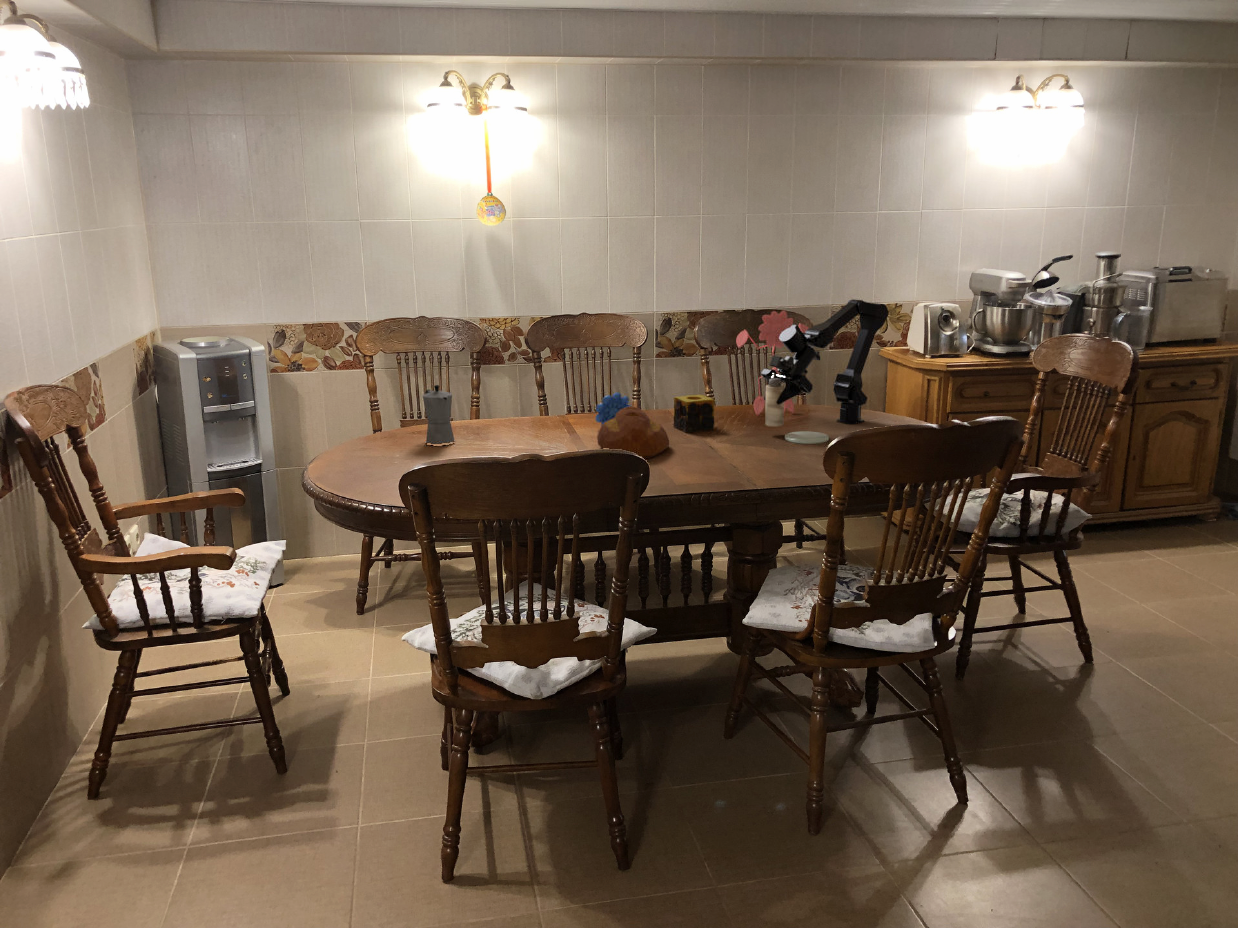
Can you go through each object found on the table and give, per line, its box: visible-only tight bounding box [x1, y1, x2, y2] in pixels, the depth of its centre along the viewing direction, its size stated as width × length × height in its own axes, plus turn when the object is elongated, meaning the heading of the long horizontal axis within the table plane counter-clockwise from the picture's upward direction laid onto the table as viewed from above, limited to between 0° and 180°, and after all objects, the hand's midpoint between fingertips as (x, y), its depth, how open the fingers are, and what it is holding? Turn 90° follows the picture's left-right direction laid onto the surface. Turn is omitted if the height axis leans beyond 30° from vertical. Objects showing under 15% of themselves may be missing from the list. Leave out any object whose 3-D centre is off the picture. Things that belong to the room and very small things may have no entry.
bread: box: [596, 405, 670, 459], centre depth 287 cm, size 21×33×12 cm, turn 2°
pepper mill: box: [764, 378, 785, 427], centre depth 300 cm, size 6×6×14 cm
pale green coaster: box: [784, 430, 830, 445], centre depth 296 cm, size 13×13×1 cm
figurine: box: [735, 310, 810, 421], centre depth 325 cm, size 15×26×35 cm, turn 95°
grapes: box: [595, 392, 631, 426], centre depth 313 cm, size 12×7×12 cm, turn 97°
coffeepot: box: [422, 384, 456, 444], centre depth 299 cm, size 15×9×18 cm, turn 33°
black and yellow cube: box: [673, 394, 715, 434], centre depth 312 cm, size 10×10×10 cm
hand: (771, 402), depth 299 cm, fingers closed on pepper mill, 5 cm apart
